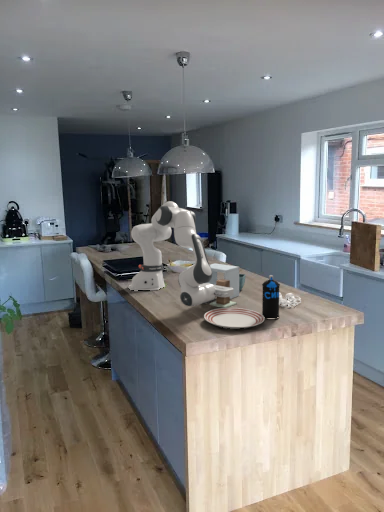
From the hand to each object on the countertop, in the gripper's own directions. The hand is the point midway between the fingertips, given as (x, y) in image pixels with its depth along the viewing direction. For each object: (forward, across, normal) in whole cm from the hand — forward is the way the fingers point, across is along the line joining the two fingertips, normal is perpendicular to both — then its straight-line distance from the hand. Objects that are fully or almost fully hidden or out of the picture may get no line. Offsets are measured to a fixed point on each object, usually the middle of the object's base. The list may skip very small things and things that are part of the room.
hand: (224, 286), depth 225 cm
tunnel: (+12, +12, +9) cm, 20 cm away
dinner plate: (-20, -21, +10) cm, 31 cm away
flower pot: (+28, +12, +10) cm, 32 cm away
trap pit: (-2, +12, +9) cm, 15 cm away
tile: (-1, 0, +9) cm, 9 cm away
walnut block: (-1, 0, +8) cm, 8 cm away
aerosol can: (-4, -30, +10) cm, 32 cm away
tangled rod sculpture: (+22, -24, +10) cm, 35 cm away
